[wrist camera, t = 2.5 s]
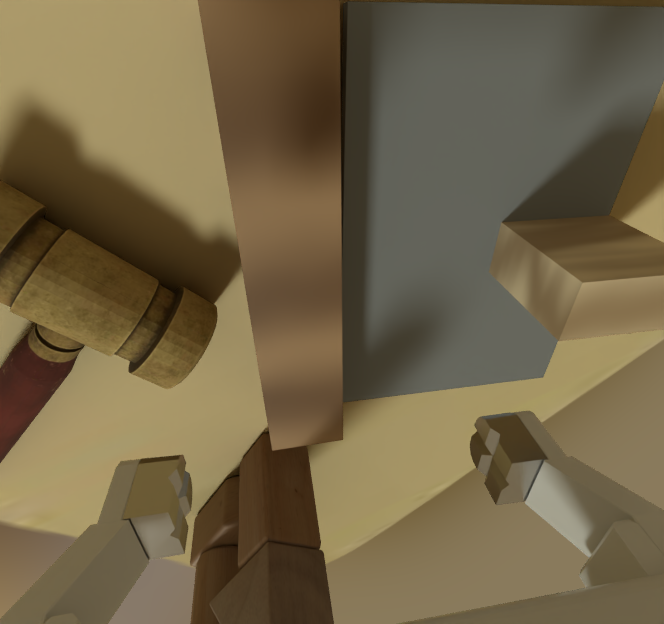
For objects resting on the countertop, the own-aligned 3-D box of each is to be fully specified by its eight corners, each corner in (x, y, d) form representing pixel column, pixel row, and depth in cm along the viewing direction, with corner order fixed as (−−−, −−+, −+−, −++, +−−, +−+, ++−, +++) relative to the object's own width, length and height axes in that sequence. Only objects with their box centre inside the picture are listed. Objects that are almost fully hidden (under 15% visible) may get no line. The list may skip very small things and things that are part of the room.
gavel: (19, 551, 25) (-200, 509, 20) (51, 482, 29) (-129, 433, 24) (214, 350, 17) (-68, 204, 12) (224, 290, 21) (8, 158, 16)
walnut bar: (208, 2, 14) (196, -6, 11) (319, 1, 15) (339, -8, 12) (269, 398, 26) (272, 450, 23) (331, 389, 26) (342, 439, 23)
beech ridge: (501, 222, 20) (582, 282, 15) (608, 215, 21) (718, 270, 16) (488, 272, 22) (558, 341, 17) (589, 263, 23) (683, 327, 18)
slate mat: (343, 3, 15) (347, 1, 14) (676, 8, 17) (693, 7, 16) (337, 393, 26) (339, 402, 25) (536, 369, 28) (543, 377, 27)
